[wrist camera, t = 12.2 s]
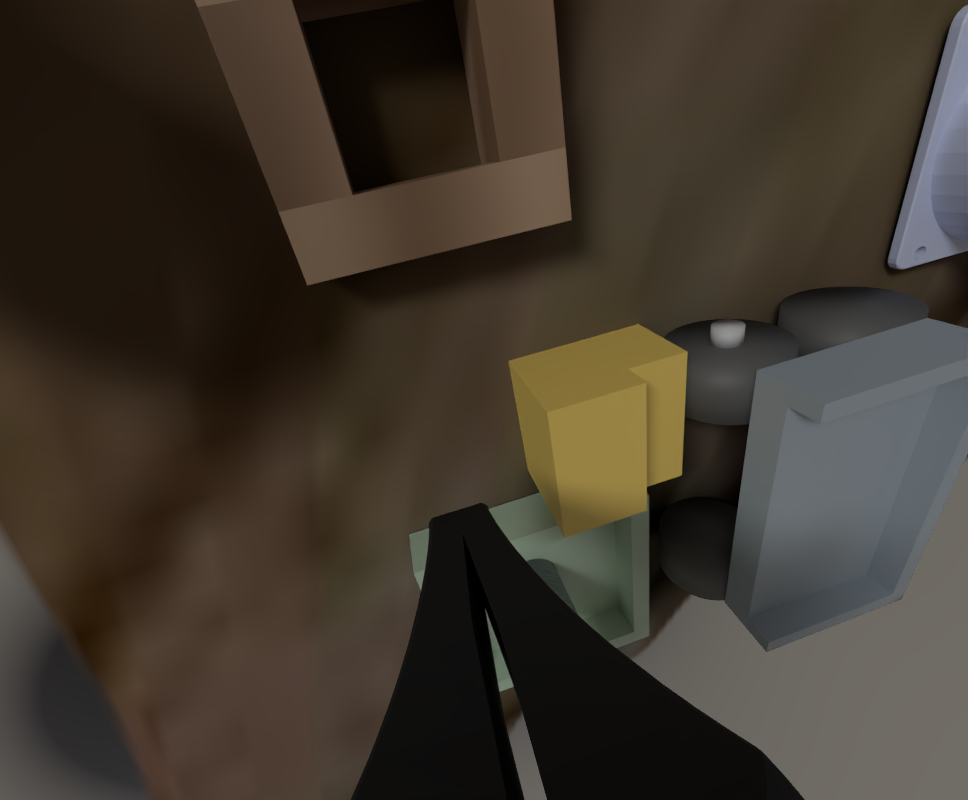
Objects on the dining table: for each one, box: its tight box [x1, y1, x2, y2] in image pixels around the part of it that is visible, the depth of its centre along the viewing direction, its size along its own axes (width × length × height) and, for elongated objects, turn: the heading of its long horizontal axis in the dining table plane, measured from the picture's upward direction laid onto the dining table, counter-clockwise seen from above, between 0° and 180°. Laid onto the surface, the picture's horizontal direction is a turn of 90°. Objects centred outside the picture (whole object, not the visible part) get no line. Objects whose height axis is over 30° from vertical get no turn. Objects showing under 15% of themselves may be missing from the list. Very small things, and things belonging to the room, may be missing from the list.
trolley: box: [659, 287, 968, 652], centre depth 17 cm, size 9×12×6 cm
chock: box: [509, 324, 688, 538], centre depth 15 cm, size 5×5×4 cm
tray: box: [409, 492, 649, 692], centre depth 20 cm, size 10×10×2 cm
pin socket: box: [195, 0, 572, 285], centre depth 10 cm, size 7×7×2 cm
